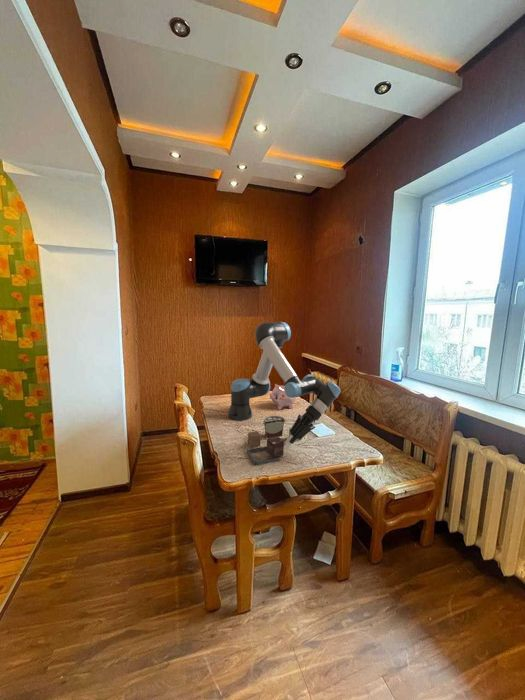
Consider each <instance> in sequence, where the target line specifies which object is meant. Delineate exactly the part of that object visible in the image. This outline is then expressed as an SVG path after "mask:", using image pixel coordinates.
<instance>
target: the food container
mask: <svg viewBox="0 0 525 700" xmlns="http://www.w3.org/2000/svg"><path fill="white" fill-rule="evenodd" d="M262 423H263V424H262V425H264V432H265V433H264V435H265V439H266V440H267V438H272V437H275V436H277V437H279V438H280V437H283V432H284V426H285V425H284V424H285V423H286V419H285V417H282V416H279V415H269V416H266V417H265V418H264V419H263V422H262Z"/></svg>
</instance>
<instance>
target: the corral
mask: <svg viewBox="0 0 525 700" xmlns="http://www.w3.org/2000/svg"><path fill="white" fill-rule="evenodd" d="M266 450H267V445H266V446H259V447H253V448H249V449H246V450H245V453H246V456H248V458H249V460H250V459H251V460H250V461H251V463H252V464H253V466H258V465H264V464H270V463H274V462H279V461H280V456H277V457H269V458H262V459H256V458H255V457H254V455H253V454H254V453H261V452H266ZM269 462H270V463H269Z"/></svg>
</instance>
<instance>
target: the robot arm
mask: <svg viewBox="0 0 525 700" xmlns="http://www.w3.org/2000/svg"><path fill="white" fill-rule="evenodd" d="M291 334H292V331H291V327H290V326H289V325H288V323H287V322H284V321H269V322H268V321H266V322H264V321H263V322H261V323H260V324H258V326H257V327H256V328H255V331H254V339H255V342H256V344H257V346H258V347H259V348H260V349H261V350H263V351H262V354H261V356H260V360H259V363H258V366H257V368H256V372H255V373H253V374H252V376H251V378H250V379H249V378H244V377H243V378H237V379H234V380H233V381H232V382H231V385H230V407H229V410H228V413H227V414H228V415H227V417H228V418H229V419H231V420H234V421H247V420H249V419H251V418H252V416H253V411H252V409H251V405H250V399H253V398H258V397H262V396H265V395H267V394H269V392H270V390H271V382H270V378H269V376H270V374H271V371H272V368H274V370H276V372H277V373H278V375H279V377H280V378H281V380H282V381H283V384H285V385H284V386H285V388H284V390H285V393H286V395H287V396H288V397H290V398H294V397H295V398H299V397H301V396H302V397H303V396H304V395H305V396H307V395H310V394H314V395H315V396H316V397H315V398H314V400H312V401H311V403H310V405H308V406H307V408H306V409H305V413H303V414H298V416H297V418H296V420H295V422H293V424H292V426H291V427H292V428H291V429H290V432H291V434H290V436H289V435H288V437H287V438H286V440H285V441H284V448H285V450H286V449H287V450H288V449H289V448H290V447H291V446H292V445H293V444H294V442H296V441H295V440H296V439H299V440H300V439H303V438H304V437H305V436H307V435H308V434H309V433H310V432H311V431H313V430H314V429H315V428H316V426H315V422H316V421H318V420H319V419H320V418H321V417H322V415H323V414H324V413H325V412H326V411H327V410H328V409H329V407H330V406H331V404H333V402H334V401H335V400H336V399H337V398H338V397H339V395H340V394H341V392H342V391H341V388H340V387H339V386H338V385H337V384H336V383H334V382H333V381H329V382H328V383H325V382H324V381H322V380H321V379H319V378H318V377H316V376H314V375H313V374H306V375H305V376H303V378H302V379H300V377H299V376H298V375H297V373H296V371H295V370H294V369H293V367H292V365H291V364H290V363H289V361H288V360H287V358H286V357H285V354H284V353H282V350H281V348H283V347H284V346H283V345H284V344H285V342H287V341H290V339H291V337H292V335H291ZM300 441H301V440H300Z"/></svg>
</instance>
